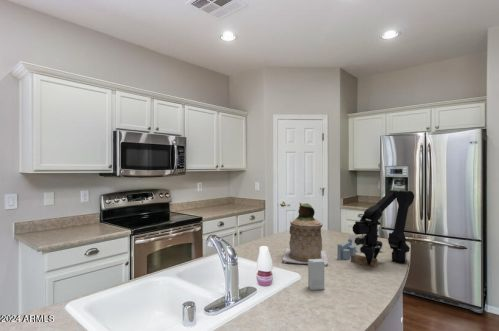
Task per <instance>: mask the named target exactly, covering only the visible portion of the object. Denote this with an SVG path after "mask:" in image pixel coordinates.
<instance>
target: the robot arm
mask: <svg viewBox="0 0 499 331" xmlns="http://www.w3.org/2000/svg"><path fill="white" fill-rule="evenodd" d="M414 198H415V194H414V192H413V191H411V190H404V189H403V190H402V189H400V190H395V189H389V190H388V191H387V193H386V194H385V195H384V196H383V197H382V198H381V199H379V201H378V202H377V203H376V204H374V205H372V206H370V207H368V208H366V209H365V210H364V212H363V214H362V216H361V217H360V219H359V221H358V220H357V221H356V220H355V221H354V224H353V225H352V232H353V233H354V234H353V235H356V236H360V235H362V234H366V235H365V236H364V237H361V238H359V237H358V238H355V242H354V243H356V245H360V244H364V245H363V246H362V247H361V248H360V252H361V253H362V254H364V256H365V257H366V260H367V263H368V265H370V264H371V261H372V259H373V258H376V259H378V256H379V253H380V252H381V250H382V249H381V247H382V248H383V242H382V241H381V240H378V238H379V237H380V236H379V235H378V232H379V231H378V230H379V229H378V226H380V225H382V223H381V222H380V221H379V220H380V219H381V218H382V216H383V212H384V211H385V210H386V209H387V208H388V207H389V206H390V205H391V204H392V203H393V202H394V201H396V202H397V205H398V207H397V213H396V218H395V223H394V228H393V231H392V232H389V233H388V237H387V243H388V245H389V248H390V249H391V250H392V251H391V262H394V263H399V264H406V263H407V262H408V260H407V254H408V253H409V252H410V249H411V248H410V247H409V245H408V244H407V241H406V240H407V238H406V235H405V228H406V223H407V216H408V211H409V207H410V206H412V204H413V202H414ZM379 246H380V247H379ZM368 265H367V266H368Z"/></svg>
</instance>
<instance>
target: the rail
mask: <svg viewBox="0 0 499 331" xmlns="http://www.w3.org/2000/svg"><path fill="white" fill-rule="evenodd" d="M350 262H351V263H354V264H358V265H364V266H368V267H373V268H376V267H378V258H373V259H372V261H371V264H370V265H368V263H367V260H366V256H365V255H359V254H356V255H355V254H353V255H351V256H350Z"/></svg>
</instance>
